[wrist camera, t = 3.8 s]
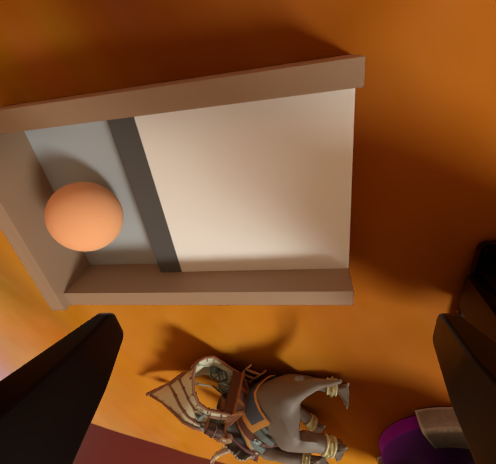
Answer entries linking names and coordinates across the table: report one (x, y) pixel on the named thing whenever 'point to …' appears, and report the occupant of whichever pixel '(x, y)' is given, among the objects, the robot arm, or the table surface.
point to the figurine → (256, 413)
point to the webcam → (425, 439)
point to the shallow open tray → (193, 187)
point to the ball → (83, 216)
